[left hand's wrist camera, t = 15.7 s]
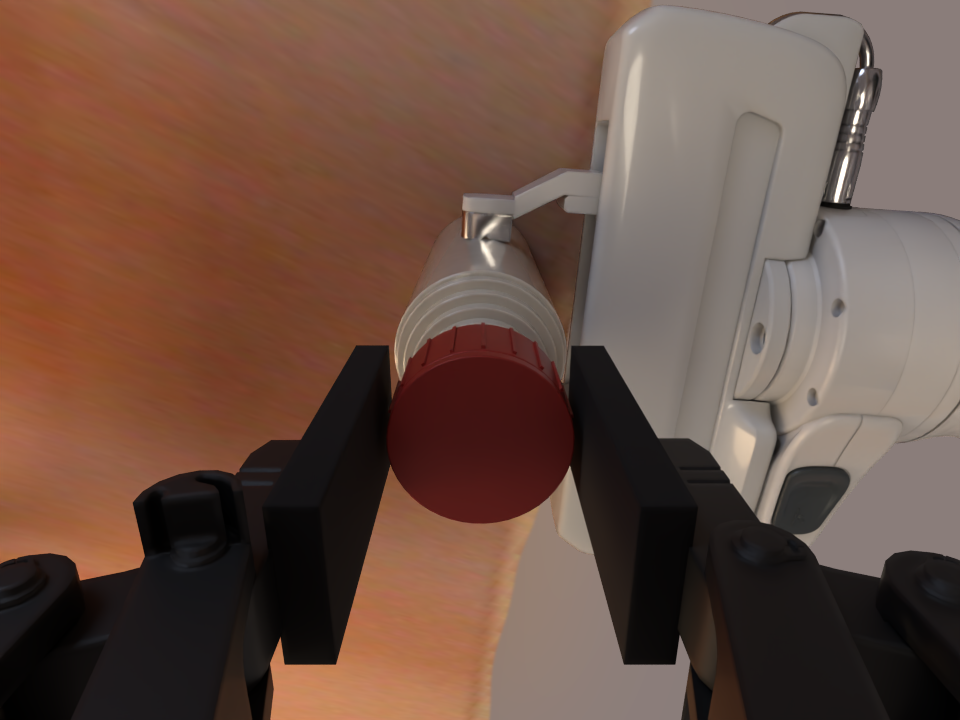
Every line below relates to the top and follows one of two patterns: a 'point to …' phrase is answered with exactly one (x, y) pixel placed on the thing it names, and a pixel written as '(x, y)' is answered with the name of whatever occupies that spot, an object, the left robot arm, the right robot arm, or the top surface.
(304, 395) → the top surface
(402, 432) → the cap
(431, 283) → the bottle
